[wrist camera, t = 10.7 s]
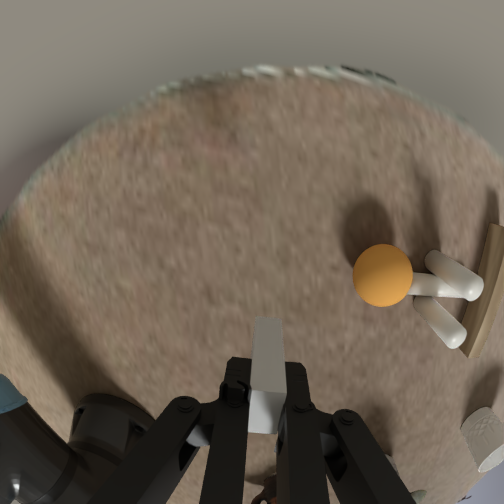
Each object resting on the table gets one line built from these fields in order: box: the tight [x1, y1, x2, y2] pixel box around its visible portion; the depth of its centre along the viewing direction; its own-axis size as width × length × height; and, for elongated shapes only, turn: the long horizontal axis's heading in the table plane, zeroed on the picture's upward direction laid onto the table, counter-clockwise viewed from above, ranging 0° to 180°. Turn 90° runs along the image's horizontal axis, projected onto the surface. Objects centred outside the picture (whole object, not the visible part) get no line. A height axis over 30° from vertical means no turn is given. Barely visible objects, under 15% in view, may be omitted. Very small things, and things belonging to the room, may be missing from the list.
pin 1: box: [424, 250, 484, 301], centre depth 27 cm, size 2×2×8 cm
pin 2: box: [413, 295, 467, 349], centre depth 28 cm, size 2×2×8 cm
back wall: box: [459, 223, 504, 358], centre depth 29 cm, size 2×16×4 cm, turn 174°
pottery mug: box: [251, 475, 277, 504], centre depth 41 cm, size 12×10×8 cm
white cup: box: [461, 407, 504, 472], centre depth 33 cm, size 8×8×10 cm
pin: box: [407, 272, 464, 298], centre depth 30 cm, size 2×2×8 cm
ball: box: [353, 244, 413, 307], centre depth 28 cm, size 6×6×6 cm
